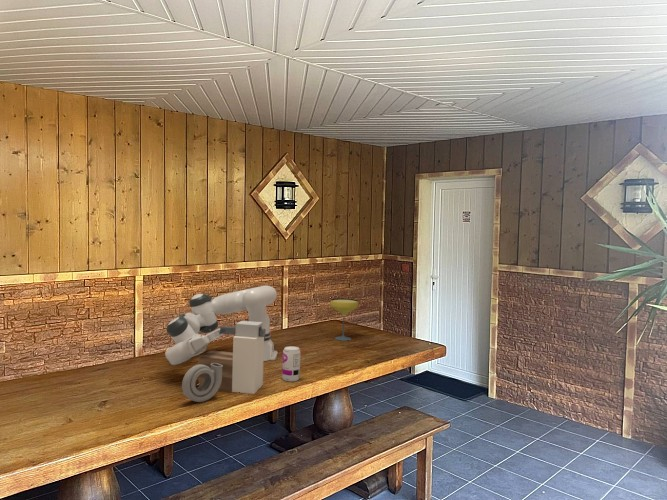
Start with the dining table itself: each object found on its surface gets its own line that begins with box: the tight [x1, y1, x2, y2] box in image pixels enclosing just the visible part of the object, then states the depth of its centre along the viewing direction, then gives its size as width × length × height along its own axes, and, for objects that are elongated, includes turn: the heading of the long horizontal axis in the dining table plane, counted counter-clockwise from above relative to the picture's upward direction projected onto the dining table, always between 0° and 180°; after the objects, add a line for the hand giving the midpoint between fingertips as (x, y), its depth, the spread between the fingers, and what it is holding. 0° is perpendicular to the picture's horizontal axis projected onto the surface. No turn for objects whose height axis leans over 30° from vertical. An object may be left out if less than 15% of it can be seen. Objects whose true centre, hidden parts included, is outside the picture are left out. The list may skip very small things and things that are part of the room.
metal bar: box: [219, 325, 266, 337], centre depth 224 cm, size 3×20×3 cm, turn 80°
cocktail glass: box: [329, 297, 359, 342], centre depth 326 cm, size 18×18×25 cm
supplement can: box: [281, 345, 301, 383], centre depth 239 cm, size 8×8×15 cm
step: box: [198, 350, 233, 393], centre depth 227 cm, size 12×16×14 cm
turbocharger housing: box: [181, 363, 223, 403], centre depth 208 cm, size 17×6×15 cm, turn 137°
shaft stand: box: [232, 320, 264, 395], centre depth 224 cm, size 12×10×29 cm
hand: (223, 330), depth 225 cm, fingers open, 8 cm apart
